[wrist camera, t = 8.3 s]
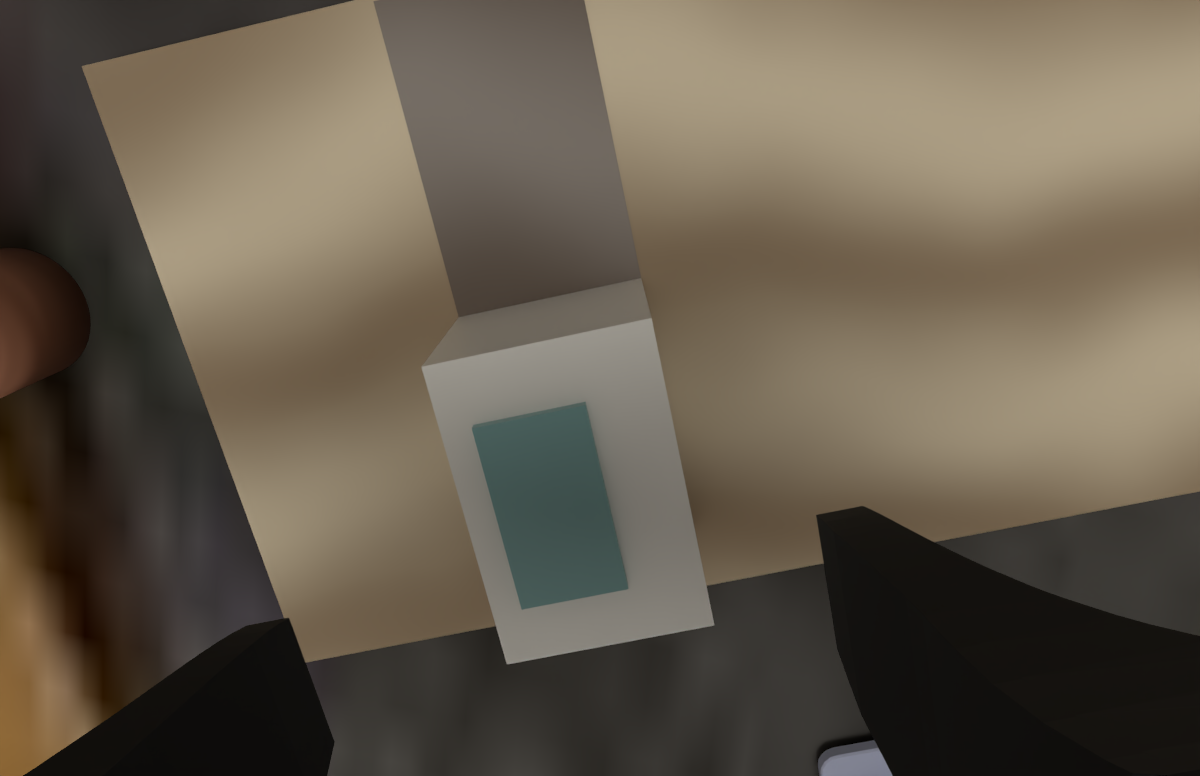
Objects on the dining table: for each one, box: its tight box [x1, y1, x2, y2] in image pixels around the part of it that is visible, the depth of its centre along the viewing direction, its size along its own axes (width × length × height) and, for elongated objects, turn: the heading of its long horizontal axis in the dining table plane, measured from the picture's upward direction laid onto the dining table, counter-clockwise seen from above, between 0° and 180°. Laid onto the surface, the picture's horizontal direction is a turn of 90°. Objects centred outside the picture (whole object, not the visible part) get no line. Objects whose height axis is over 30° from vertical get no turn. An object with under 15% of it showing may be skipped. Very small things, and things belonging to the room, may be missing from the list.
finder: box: [422, 278, 714, 664], centre depth 17 cm, size 6×4×4 cm, turn 12°
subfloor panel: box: [82, 0, 1200, 662], centre depth 19 cm, size 14×22×1 cm, turn 102°
